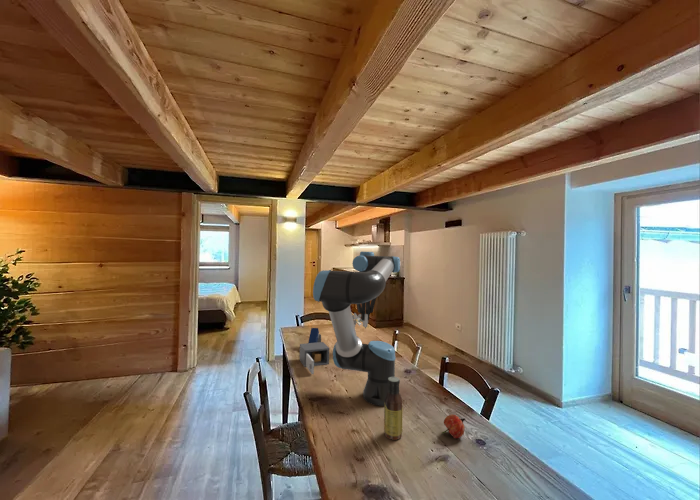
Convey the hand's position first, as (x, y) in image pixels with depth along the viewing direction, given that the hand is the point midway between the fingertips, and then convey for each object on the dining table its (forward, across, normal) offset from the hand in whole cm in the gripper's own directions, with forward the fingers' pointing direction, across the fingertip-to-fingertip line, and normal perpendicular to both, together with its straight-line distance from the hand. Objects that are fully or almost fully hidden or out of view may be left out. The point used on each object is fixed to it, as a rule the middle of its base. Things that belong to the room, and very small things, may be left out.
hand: (365, 326), depth 159 cm
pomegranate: (+25, -7, +59) cm, 64 cm away
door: (+23, +26, -11) cm, 37 cm away
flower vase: (+25, -6, -30) cm, 39 cm away
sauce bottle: (+25, +13, +52) cm, 59 cm away
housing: (+24, +20, -24) cm, 40 cm away
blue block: (+25, +14, -46) cm, 54 cm away
